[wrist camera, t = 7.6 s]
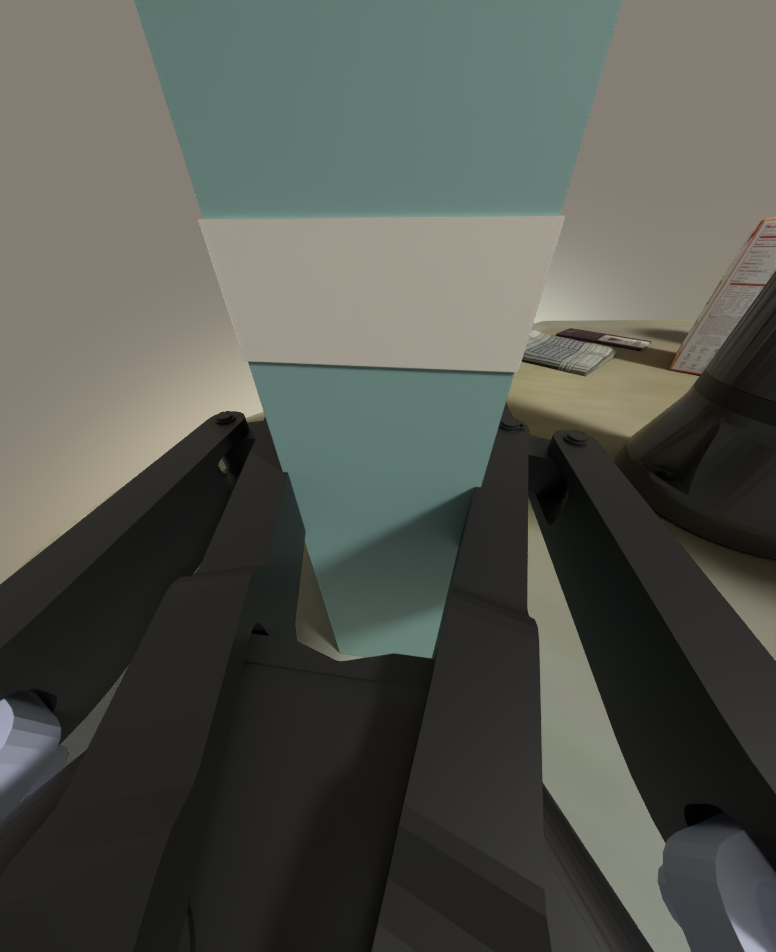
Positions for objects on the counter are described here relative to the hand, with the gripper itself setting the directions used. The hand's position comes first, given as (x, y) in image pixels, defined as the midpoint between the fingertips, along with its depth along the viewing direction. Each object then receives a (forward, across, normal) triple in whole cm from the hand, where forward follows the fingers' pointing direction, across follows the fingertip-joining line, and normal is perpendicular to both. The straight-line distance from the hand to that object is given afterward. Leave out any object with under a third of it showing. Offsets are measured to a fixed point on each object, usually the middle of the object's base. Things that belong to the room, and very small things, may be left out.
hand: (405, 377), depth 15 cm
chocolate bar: (+64, +44, -13) cm, 79 cm away
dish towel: (+49, +29, -13) cm, 59 cm away
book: (-5, 0, -12) cm, 13 cm away
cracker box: (+46, +52, -12) cm, 71 cm away
